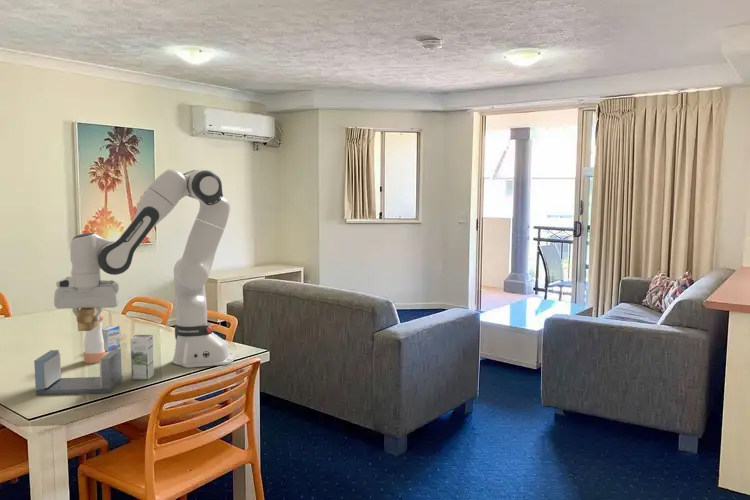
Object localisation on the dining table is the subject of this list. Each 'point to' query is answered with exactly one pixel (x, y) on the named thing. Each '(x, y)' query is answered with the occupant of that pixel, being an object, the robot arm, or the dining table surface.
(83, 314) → the wooden block
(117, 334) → the medicine box
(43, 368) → the vise jaw
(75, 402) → the dining table surface
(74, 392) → the vise
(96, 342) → the pepper shaker
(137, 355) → the syrup box
